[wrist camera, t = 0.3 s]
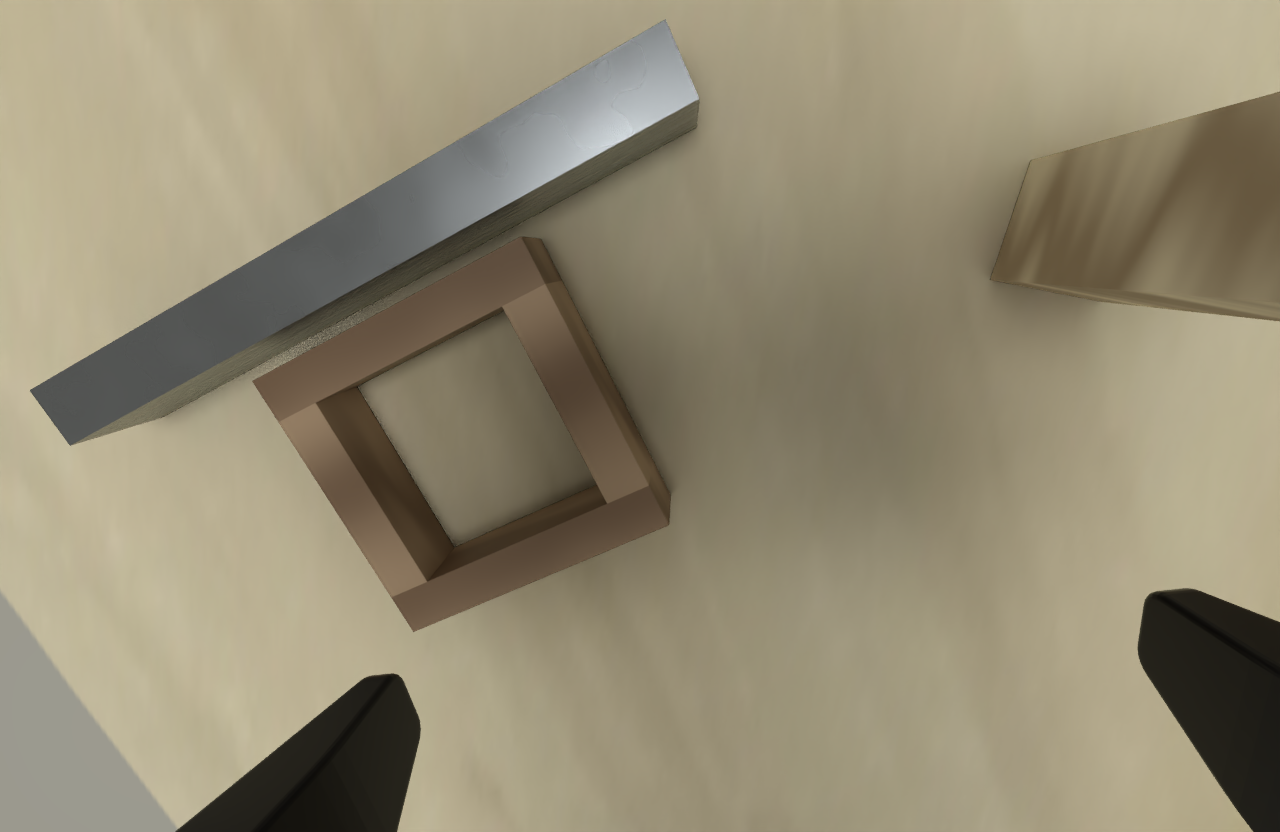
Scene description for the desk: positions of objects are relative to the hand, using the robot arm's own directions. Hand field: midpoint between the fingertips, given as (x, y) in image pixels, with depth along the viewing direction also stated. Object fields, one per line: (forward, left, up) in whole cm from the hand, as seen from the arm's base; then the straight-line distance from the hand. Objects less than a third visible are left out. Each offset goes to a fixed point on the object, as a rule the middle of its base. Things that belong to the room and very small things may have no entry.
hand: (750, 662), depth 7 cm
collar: (+1, +8, -14) cm, 16 cm away
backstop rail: (+7, +9, -14) cm, 18 cm away
